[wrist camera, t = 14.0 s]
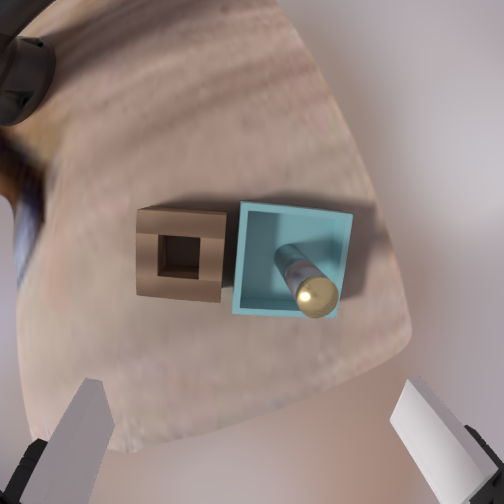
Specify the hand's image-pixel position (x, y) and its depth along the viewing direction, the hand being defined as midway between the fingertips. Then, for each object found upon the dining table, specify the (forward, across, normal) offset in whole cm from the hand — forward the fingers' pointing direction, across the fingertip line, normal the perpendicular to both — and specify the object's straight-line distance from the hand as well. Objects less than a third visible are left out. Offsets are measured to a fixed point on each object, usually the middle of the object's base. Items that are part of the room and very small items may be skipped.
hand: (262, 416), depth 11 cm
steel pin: (+27, +6, 0) cm, 27 cm away
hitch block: (+28, -7, 0) cm, 29 cm away
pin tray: (+28, +6, 0) cm, 28 cm away
